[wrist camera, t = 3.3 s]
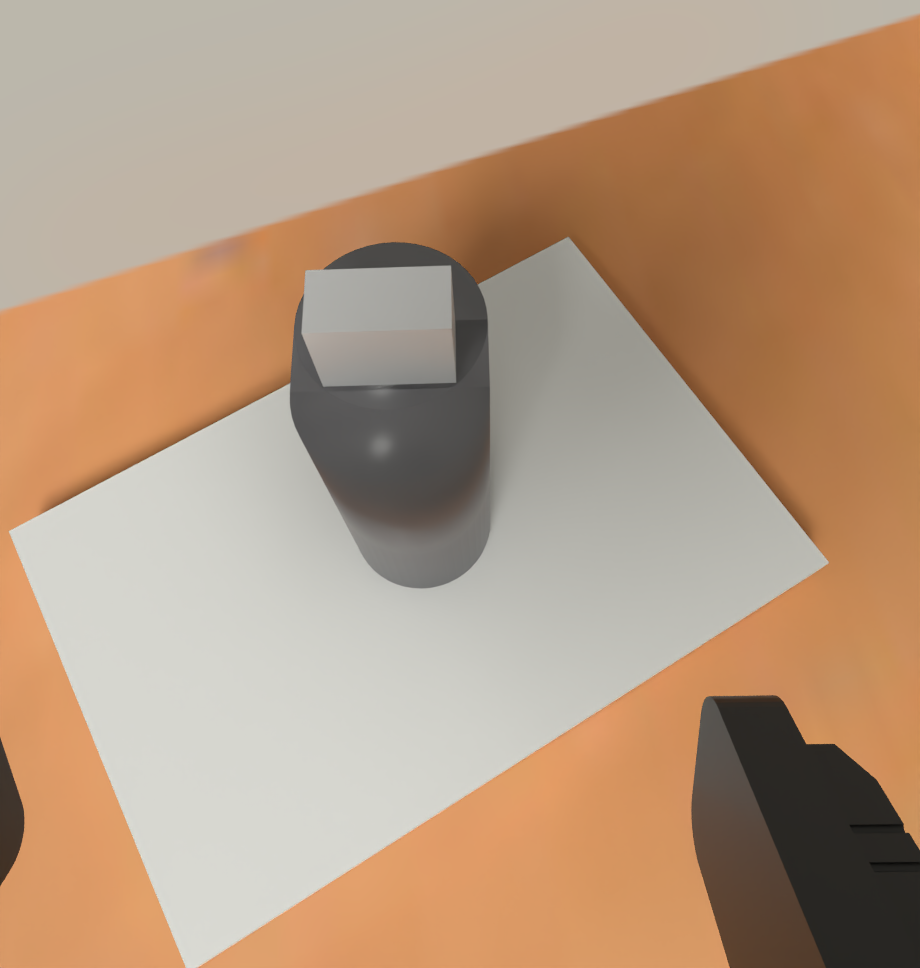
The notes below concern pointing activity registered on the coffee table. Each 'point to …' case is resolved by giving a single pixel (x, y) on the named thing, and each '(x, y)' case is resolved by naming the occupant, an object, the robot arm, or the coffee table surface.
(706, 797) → the robot arm
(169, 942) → the coffee table surface
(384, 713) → the dock plate
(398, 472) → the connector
